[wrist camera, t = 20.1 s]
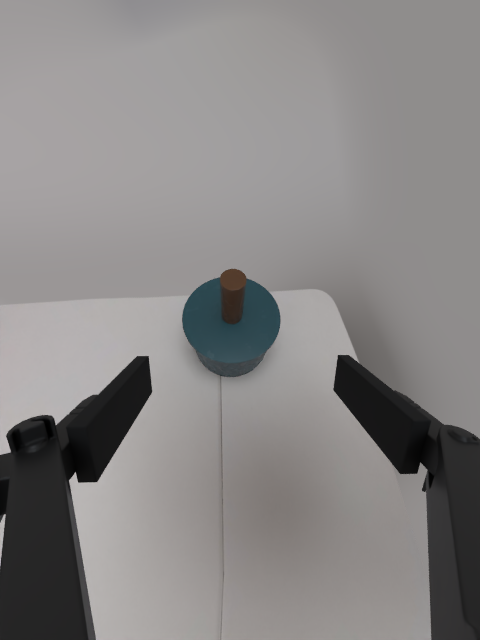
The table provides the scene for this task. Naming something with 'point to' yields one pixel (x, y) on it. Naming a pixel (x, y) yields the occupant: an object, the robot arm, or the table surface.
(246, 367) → the pot
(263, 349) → the lid
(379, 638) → the table surface
